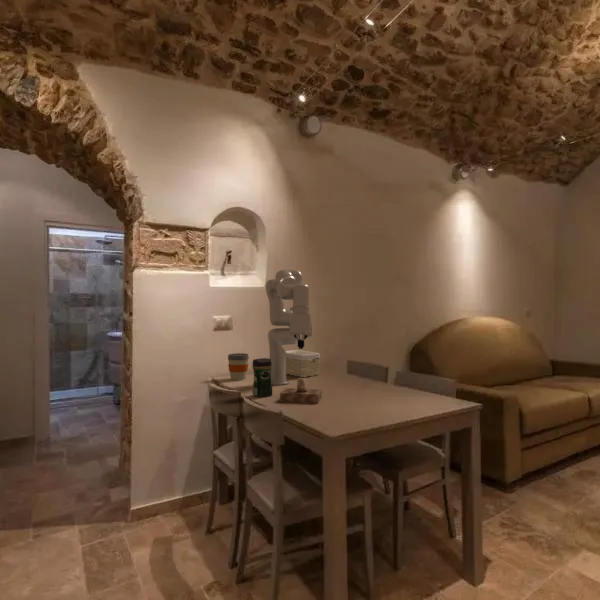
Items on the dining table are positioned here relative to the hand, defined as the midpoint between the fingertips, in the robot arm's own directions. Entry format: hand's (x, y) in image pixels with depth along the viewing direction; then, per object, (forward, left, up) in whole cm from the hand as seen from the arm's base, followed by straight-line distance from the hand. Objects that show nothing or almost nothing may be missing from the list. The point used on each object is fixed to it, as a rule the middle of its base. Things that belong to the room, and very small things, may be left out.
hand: (300, 348), depth 206 cm
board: (0, 0, -25) cm, 25 cm away
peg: (0, 0, -25) cm, 25 cm away
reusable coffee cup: (-48, +48, -25) cm, 72 cm away
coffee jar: (-21, +6, -25) cm, 33 cm away
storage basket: (-14, +70, -25) cm, 76 cm away
